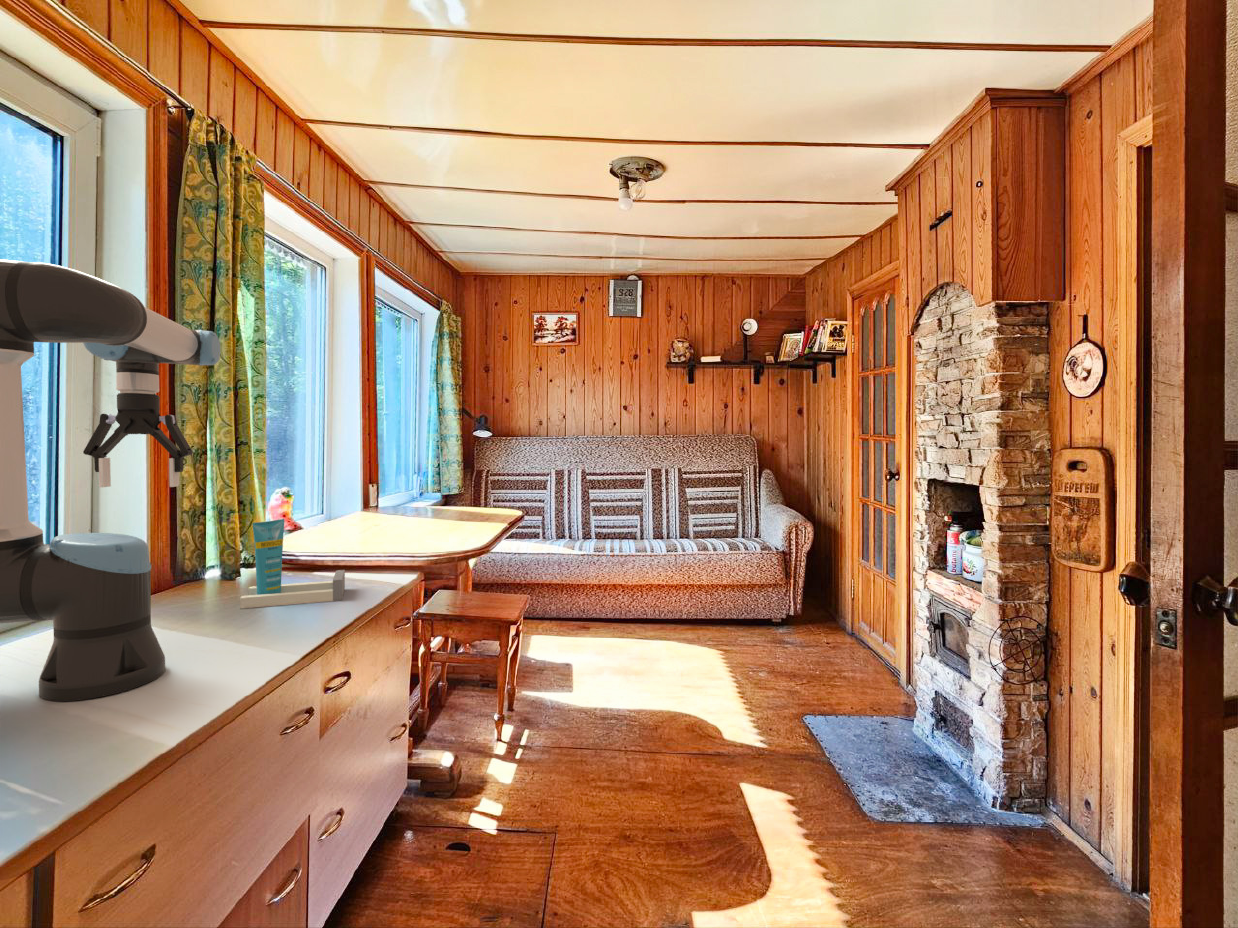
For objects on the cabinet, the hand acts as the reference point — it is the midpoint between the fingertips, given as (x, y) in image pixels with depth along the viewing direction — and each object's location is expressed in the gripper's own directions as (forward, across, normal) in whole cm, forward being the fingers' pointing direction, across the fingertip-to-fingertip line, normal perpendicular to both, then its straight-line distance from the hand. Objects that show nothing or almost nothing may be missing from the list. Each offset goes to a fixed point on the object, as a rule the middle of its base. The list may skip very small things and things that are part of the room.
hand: (140, 486), depth 134 cm
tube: (+28, -26, 0) cm, 38 cm away
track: (+27, -31, 0) cm, 42 cm away
